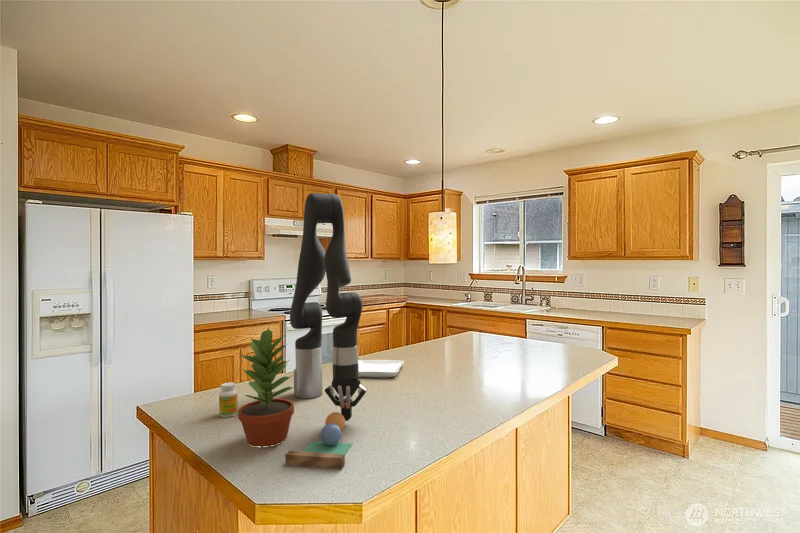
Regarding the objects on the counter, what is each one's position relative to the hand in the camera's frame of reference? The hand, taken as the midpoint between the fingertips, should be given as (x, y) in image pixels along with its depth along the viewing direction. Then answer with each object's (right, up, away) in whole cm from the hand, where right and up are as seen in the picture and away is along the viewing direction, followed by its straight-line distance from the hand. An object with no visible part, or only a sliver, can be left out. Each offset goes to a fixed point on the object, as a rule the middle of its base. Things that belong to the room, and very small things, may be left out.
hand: (346, 419), depth 125 cm
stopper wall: (-4, -2, -24) cm, 25 cm away
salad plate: (+6, -1, +58) cm, 58 cm away
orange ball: (-3, +1, -5) cm, 6 cm away
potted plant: (-20, -2, -9) cm, 22 cm away
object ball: (-2, +1, -13) cm, 14 cm away
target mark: (-3, -2, -18) cm, 18 cm away
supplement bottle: (-39, -2, +10) cm, 40 cm away
